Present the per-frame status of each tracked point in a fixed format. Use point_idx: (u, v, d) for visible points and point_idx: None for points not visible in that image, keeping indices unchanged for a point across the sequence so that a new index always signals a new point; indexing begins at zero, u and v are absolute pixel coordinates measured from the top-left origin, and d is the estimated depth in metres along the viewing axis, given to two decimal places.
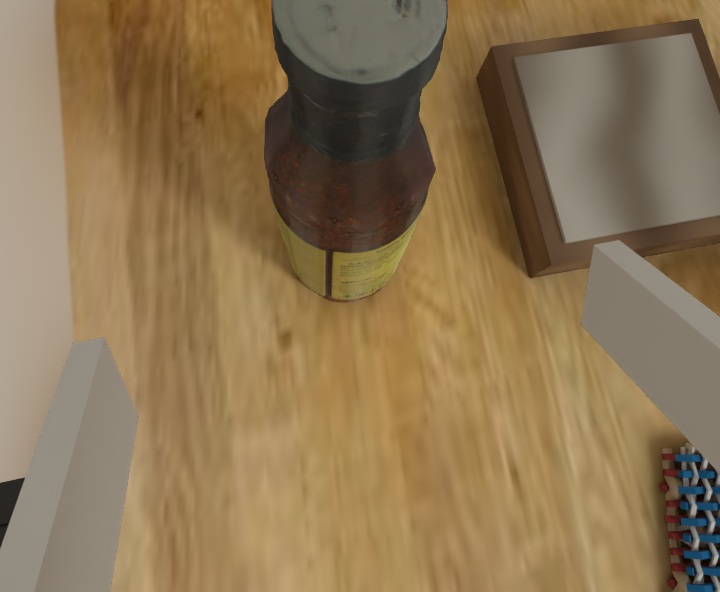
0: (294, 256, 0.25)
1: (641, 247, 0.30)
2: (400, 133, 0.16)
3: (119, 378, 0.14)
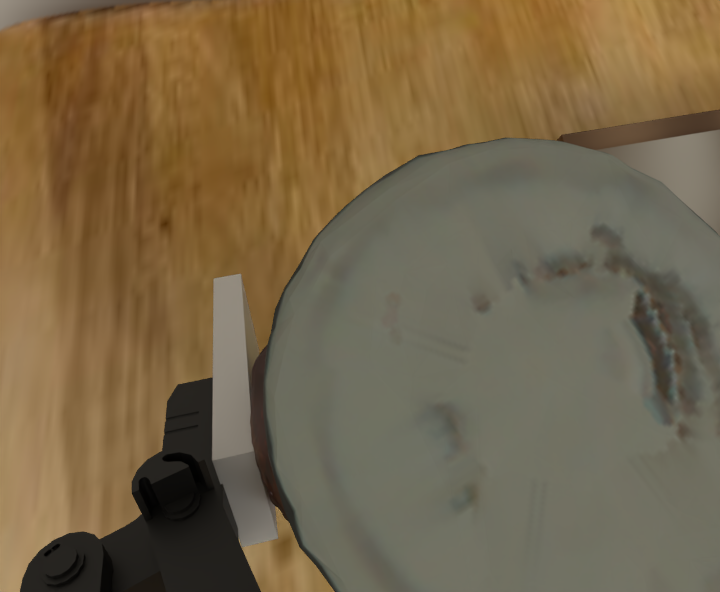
0: None
1: None
2: None
3: (249, 311, 0.16)
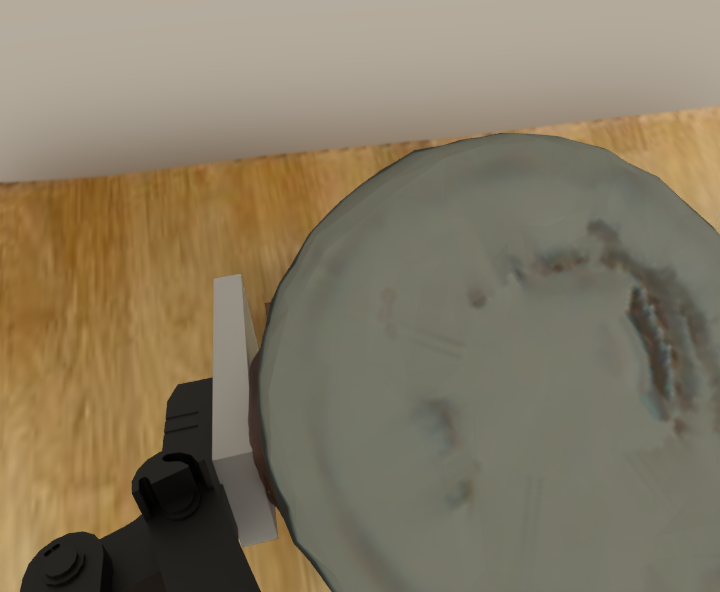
0: None
1: None
2: None
3: (249, 311, 0.16)
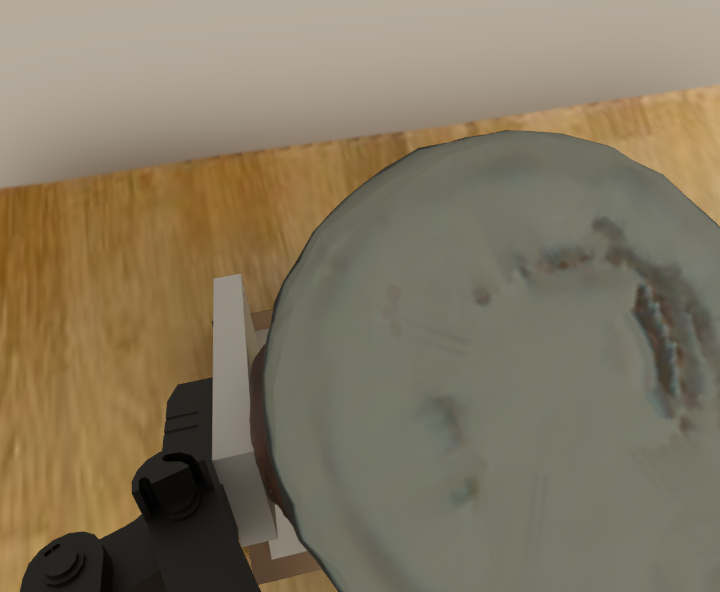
0: None
1: None
2: None
3: (249, 311, 0.16)
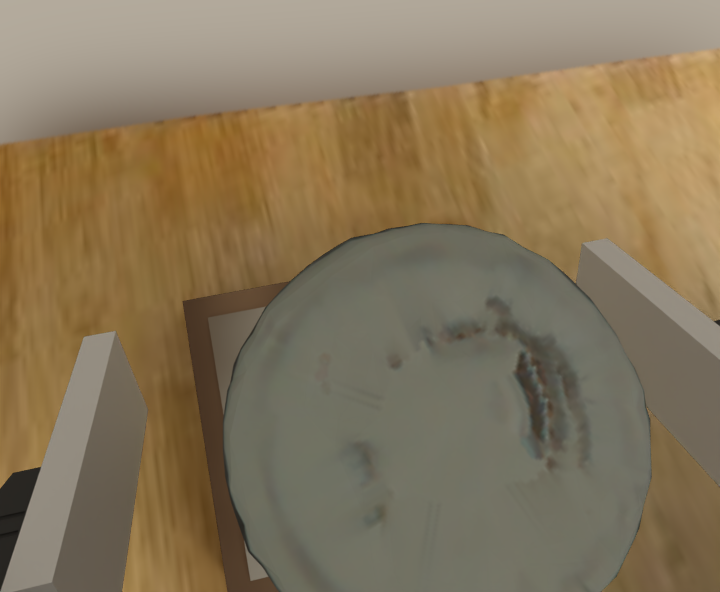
0: None
1: None
2: None
3: (129, 371, 0.14)
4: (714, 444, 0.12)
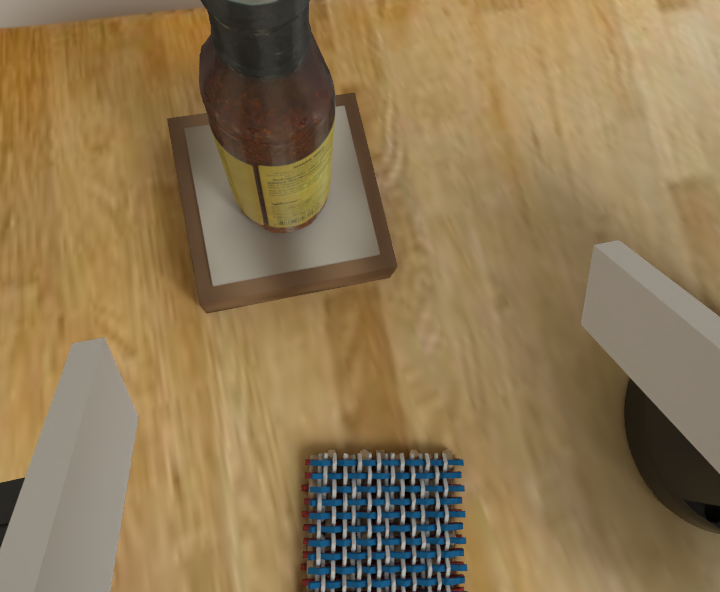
0: (233, 182, 0.31)
1: (281, 288, 0.36)
2: (294, 56, 0.21)
3: (119, 378, 0.14)
4: None
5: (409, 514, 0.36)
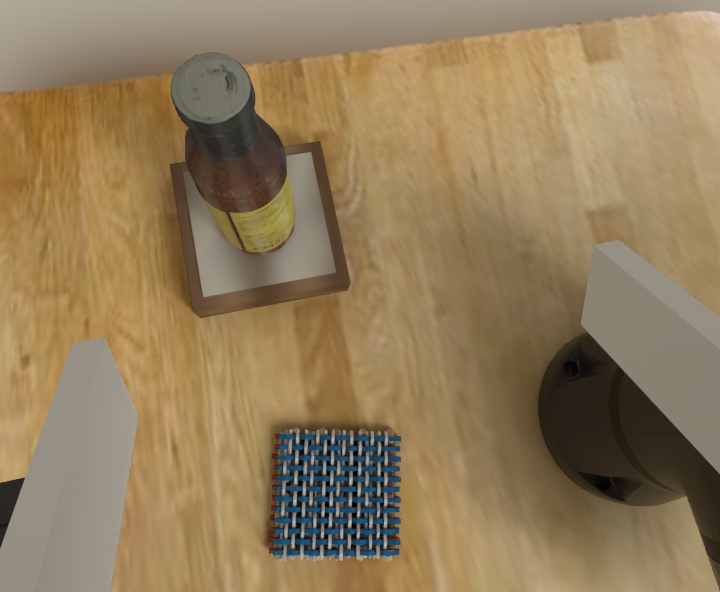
0: (215, 220, 0.41)
1: (257, 299, 0.46)
2: (246, 144, 0.31)
3: (119, 378, 0.14)
4: None
5: (355, 478, 0.45)
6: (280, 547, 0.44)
